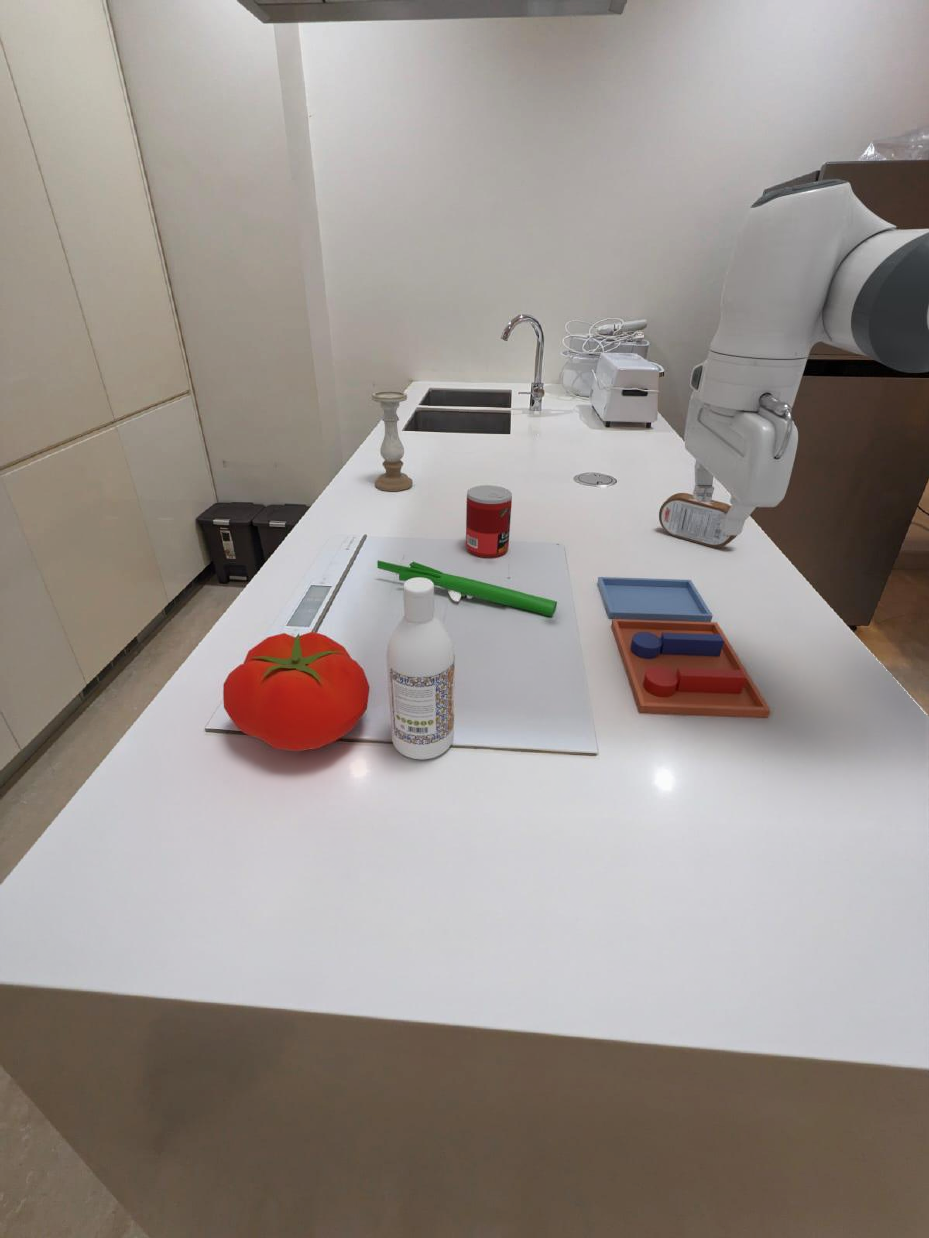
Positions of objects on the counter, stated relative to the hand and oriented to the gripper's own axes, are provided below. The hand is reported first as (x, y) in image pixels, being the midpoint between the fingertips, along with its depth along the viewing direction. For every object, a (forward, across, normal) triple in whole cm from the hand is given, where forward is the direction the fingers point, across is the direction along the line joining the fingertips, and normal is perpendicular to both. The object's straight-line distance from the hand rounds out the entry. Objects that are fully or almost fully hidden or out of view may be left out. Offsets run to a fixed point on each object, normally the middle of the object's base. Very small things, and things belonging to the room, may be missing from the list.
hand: (714, 515), depth 65 cm
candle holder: (+22, +69, +46) cm, 86 cm away
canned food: (+22, +36, +25) cm, 49 cm away
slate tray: (+22, +18, -1) cm, 28 cm away
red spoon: (+22, -4, 0) cm, 22 cm away
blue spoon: (+22, +4, 0) cm, 22 cm away
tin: (+22, +43, -15) cm, 51 cm away
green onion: (+22, +18, +29) cm, 41 cm away
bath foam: (+22, -14, +32) cm, 41 cm away
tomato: (+22, -12, +46) cm, 52 cm away
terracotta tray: (+22, +1, -1) cm, 22 cm away
